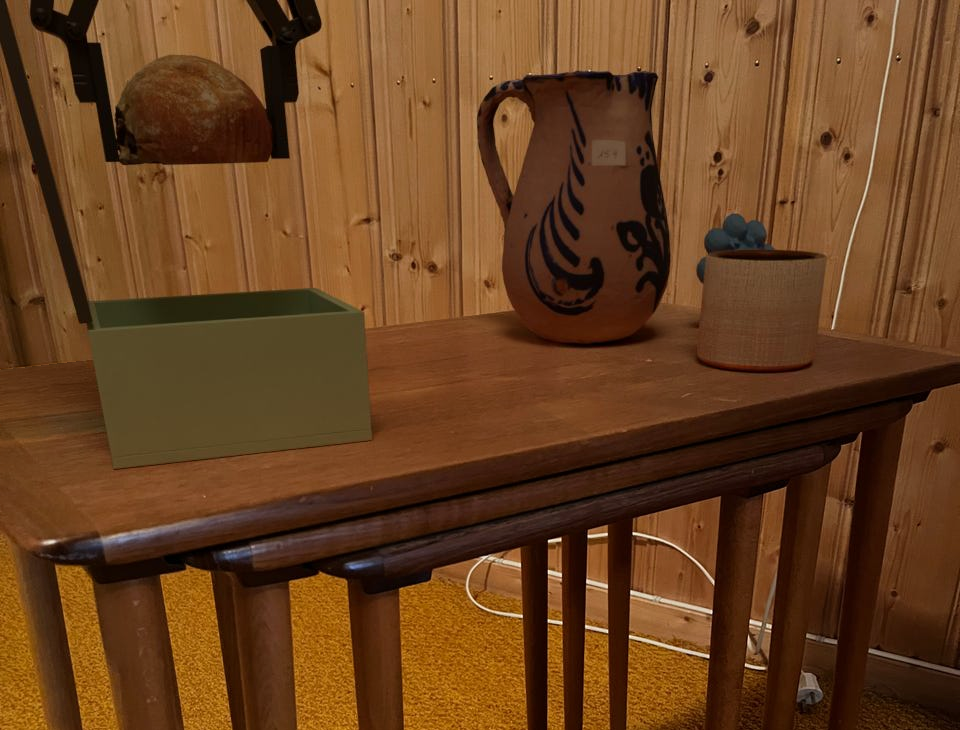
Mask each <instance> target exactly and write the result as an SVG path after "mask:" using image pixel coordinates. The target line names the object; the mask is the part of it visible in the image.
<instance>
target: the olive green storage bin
mask: <svg viewBox="0 0 960 730" xmlns="http://www.w3.org/2000/svg"><path fill="white" fill-rule="evenodd" d="M88 303H89V308H90V312H91V316H92V322H90V323H85V324H86V330H87V335H88V341H89V346H90V352H91V357H92V362H93V368H94V373H95V378H96V384H97V390H98V394H99V400H100V405H101V411H102V415H103V420H104V426H105V431H106V436H107V443H108V447H109V452H110V458H111V463H112V464H111V465H112V468H113V470H120V469H128V468H137V467H146V466H154V465H164V464H172V463H181V462H190V461H200V460H209V459H219V458H227V457H236V456H245V455H254V454H261V453H269V452H270V453H271V452H279V451H280V452H281V451H288V450H298V449H307V448H315V447H323V446H332V445H333V446H334V445H342V444H351V443H359V442H368V441H372V440H373V432H372V431H373V430H372V413H371V399H370V383H369V367H368V353H367V352H368V350H367V335H366V319H365V311H363V310H361V309H360V308H357V307H356V306H353V305H351V304H349V303H347V302H345V301H343V300H341V299H340V298H337V297H335V296H333V295H331V294H329V293H327V292H325V291H323V290H321V289H319V288H316V287H307V288H306V287H304V288H288V289H287V288H285V289H273V290H272V289H271V290H270V289H269V290H255V291H254V290H253V291H239V292H238V291H237V292H222V293H221V292H219V293H204V294H190V295H189V294H188V295H187V294H185V295H173V296H172V295H170V296H155V297H154V296H152V297H139V298H137V297H135V298H124V299H123V298H122V299H121V298H119V299H102V300H88Z"/></svg>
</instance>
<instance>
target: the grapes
mask: <svg viewBox="0 0 960 730" xmlns="http://www.w3.org/2000/svg"><path fill="white" fill-rule="evenodd" d="M767 238H768V233H767V229H766V227H765V225H764V224H763V223H762V222H760V221H759V220H757V219H752V220H749V221H748V222H747V221H746V219H745V218H744V217H743V216H742V215H741V214H740V213H733V212H732V213H730V214H729V215H727V216H726V217H725V219H724V221H723V222H722V226H721V227H713V228H711V229H709V230H708V231H707V233H706V235H705V236H704V238H703V239H704V240H703V247H704V249H705V251H706V254H709V253H712V252H718V251H729V250H776V248H775V247H774V246H773V245H771V244H769V243H766V241H767ZM705 261H706V255H705V256H704V257H702V258H701V259H700V260H699V262H698V263H697V265H696V277H697V279H698V280H699V282H700V283H701V284H702V285H703V283H704V273H705Z"/></svg>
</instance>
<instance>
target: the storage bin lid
mask: <svg viewBox="0 0 960 730" xmlns="http://www.w3.org/2000/svg"><path fill="white" fill-rule="evenodd" d="M0 47H1V51H2V55H3V58H4V61H5V66H6V68H7V72H8V76H9V79H10V83H11V87H12V90H13V93H14V97H15V100H16V104H17V108H18V111H19V114H20V115H19V116H20V118H21V122H22V126H23V129H24V132H25V137H26V140H27V143H28V147H29V151H30V154H31V158H32V161H33V165H34V169H35V172H36V175H37V179H38V182H39V186H40V189H41V194H42V196H43V201H44V203H45V204H44V205H45V208H46V211H47V214H48V218H49V221H50V225H51V229H52V232H53V235H54V239H55V243H56V247H57V250H58V253H59V258H60V260H61V261H60V262H61V264H62V267H63V272H64V275H65V278H66V283H67V285H68V289H69V293H70V296H71V299H72V303H73V307H74V310H75V314H76V318H77V321H78V324H79V325H82V324H86V323H90V322H92V316H91V312H90V308H89V303H88V301H89V299H88V295H87V292H86V287H85V284H84V280H83V277H82V273H81V270H80V266H79V262H78V259H77V255H76V252H75V247H74V244H73V241H72V237H71V233H70V230H69V226H68V222H67V218H66V214H65V211H64V208H63V203H62V200H61V197H60V193H59V189H58V186H57V182H56V179H55V178H56V177H55V174H54V171H53V168H52V163H51V159H50V156H49V152H48V149H47V146H46V142H45V138H44V134H43V132H42V127H41V123H40V119H39V116H38V113H37V108H36V106H35V102H34V98H33V95H32V91H31V87H30V84H29V79H28V76H27V73H26V69H25V66H24V61H23V58H22V55H21V50H20V48H19V43H18V40H17V37H16V32H15V29H14V25H13V21H12V18H11V14H10V10H9V7H8V3H7V0H0Z"/></svg>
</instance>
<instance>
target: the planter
mask: <svg viewBox="0 0 960 730" xmlns="http://www.w3.org/2000/svg"><path fill="white" fill-rule="evenodd" d="M705 256H706V261H705V273H704V283H703V284H702V295H701V296H702V297H701V304H700V305H701V306H700V314H699V323H698V333H697V334H698V335H697V343H696V355H697V357H698V358H699V359H700V361H702V362H703V363H705V364H706V365H708V366H711V367H714V368H718V369H723V370H730V371H731V370H732V371H737V372H738V371H740V372H753V373H754V372H757V373H769V372H774V373H775V372H785V371H794V370H798V369H802V368H803V367H805V366H807V365H808V364H810V363H812V362H813V361H814V358H815V356H816V349H817V342H818V341H817V340H818V333H819V324H820V317H821V307H822V301H823V291H824V284H825V276H826V269H827V262H828V256H827V255H826V254H823V253H820V252H815V251H805V250H792V249H775V250H729V251H718V252H712V253H709V254H708V253H706V255H705Z"/></svg>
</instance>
